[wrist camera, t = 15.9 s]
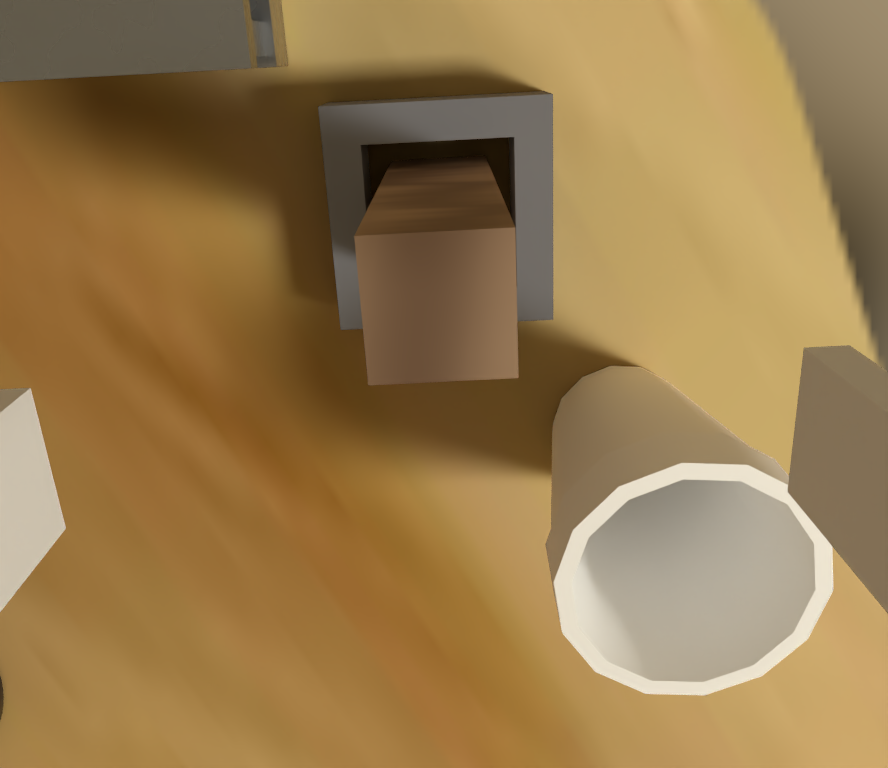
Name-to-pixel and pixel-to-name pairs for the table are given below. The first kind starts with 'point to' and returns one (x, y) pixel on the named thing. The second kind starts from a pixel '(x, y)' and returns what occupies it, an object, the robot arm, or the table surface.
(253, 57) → the gray open frame box
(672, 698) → the table surface
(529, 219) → the gray square frame
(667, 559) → the foam cup
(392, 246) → the walnut rod
